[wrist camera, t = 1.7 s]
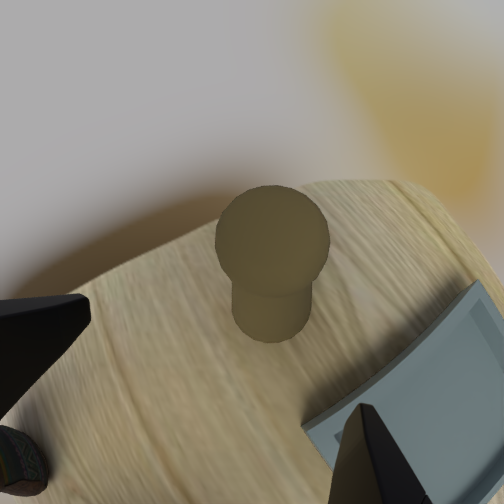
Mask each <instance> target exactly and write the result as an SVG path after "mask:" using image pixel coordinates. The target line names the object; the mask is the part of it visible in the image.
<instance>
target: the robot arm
mask: <svg viewBox="0 0 504 504" xmlns="http://www.w3.org/2000/svg"><path fill="white" fill-rule="evenodd" d="M90 321H91V312H90V302H89V299H88V298H87V297H85V296H84V295H82V294H79V293H78V294H67V295H57V296H46V297H34V298H21V299H9V300H0V420H1V419H2V418H3V417H4V416H5V415H6V413H7V412H8V411H9V410H10V409H11V408H12V407H13V406H14V405H15V404H16V402H17V401H18V400H19V399H20V398H21V397H22V396H23V395H24V394H25V393H26V392H27V391H28V390H29V389H30V387H31V386H32V385H33V384H34V383H35V382H36V381H37V380H38V379H39V378H40V377H41V376H42V375H43V374H44V373H45V372H46V371H47V370H48V369H49V368H50V367H51V366H52V365H53V364H54V363H55V362H56V361H57V360H58V359H59V358H60V357H61V356H62V355H63V354H64V353H65V352H66V351H67V350H68V348H69V347H70V346H71V345H72V344H73V342H74V341H75V340H76V339H77V338H78V336H79V335H80V334H81V333H82V332H83V331H84V329H85V328H86V327H87V326H88V325H89V323H90ZM328 504H433V503H432V501H431V500H430V498H429V496H428V495H427V494H426V491H425V490H424V488H423V486H422V484H421V483H420V481H419V479H418V478H417V476H416V474H415V473H414V471H413V469H412V468H411V466H410V464H409V463H408V461H407V459H406V458H405V456H404V454H403V453H402V451H401V449H400V448H399V446H398V445H397V443H396V441H395V440H394V438H393V436H392V435H391V433H390V432H389V430H388V428H387V427H386V425H385V423H384V422H383V420H382V419H381V417H380V415H379V414H378V412H377V411H376V409H375V407H374V406H373V405H371V404H366V403H359V404H358V405H357V406H356V407H355V409H354V410H353V412H352V413H351V415H350V416H349V417H348V419H347V420H346V423H345V425H344V429H343V434H342V438H341V442H340V447H339V451H338V455H337V458H336V462H335V466H334V471H333V476H332V483H331V489H330V495H329V501H328Z"/></svg>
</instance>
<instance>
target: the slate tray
mask: <svg viewBox="0 0 504 504" xmlns="http://www.w3.org/2000/svg"><path fill="white" fill-rule="evenodd" d="M359 403H366V404H371V405H373V406H374V407H375V409H376V411H377V412H378V414H379V415H380V417H381V419H382V420H383V422H384V423H385V425H386V427H387V428H388V430H389V432H390V433H391V435H392V436H393V438H394V440H395V441H396V443H397V445H398V446H399V448H400V449H401V451H402V453H403V454H404V456H405V458H406V459H407V461H408V463H409V464H410V466H411V468H412V469H413V471H414V473H415V474H416V476H417V478H418V479H419V481H420V483H421V484H422V486H423V488H424V490H425V491H426V494H427V495H428V496H429V498H430V500H431V501H432V503H433V504H487V503H488V502H489V501H490V500H491V498H492V497H493V496H494V495H495V494H496V493H497V491H498V490H499V489H500V488H501V487H502V485H503V484H504V319H503V318H502V316H501V314H500V312H499V311H498V309H497V307H496V306H495V304H494V303H493V301H492V299H491V298H490V296H489V295H488V293H487V292H486V290H485V289H484V287H483V286H482V284H481V283H480V281H479V280H478V279H477V280H476V281H475V282H473V283H472V284H471V285H469V286H468V287H467V288H465V289H464V290H463V291H461V292H460V293H459V294H458V295H457V297H456V298H455V299H454V300H453V301H452V302H451V303H450V304H449V306H448V307H447V308H446V309H445V310H444V311H443V312H442V313H441V314H440V315H439V316H438V317H437V318H436V319H435V320H434V322H433V323H432V324H431V325H430V326H429V327H428V328H427V329H426V330H425V331H424V332H423V333H422V334H420V335H419V336H418V337H417V338H416V339H415V340H414V341H413V342H412V343H411V344H410V345H409V346H408V347H407V348H406V349H404V350H403V351H402V352H401V353H400V354H399V355H398V356H397V357H395V358H394V359H393V360H392V361H391V362H390V363H388V364H387V365H386V366H385V367H384V368H383V369H381V370H380V371H379V372H378V373H376V374H375V375H374V376H373V377H371V378H370V379H369V380H368V381H366V382H365V383H364V384H362V385H361V386H360V387H358V388H357V389H356V390H354V391H353V392H352V393H350V394H349V395H347V396H346V397H345V398H343V399H342V400H340V401H339V402H338V403H336V404H335V405H333V406H332V407H330V408H329V409H327V410H326V411H324V412H323V413H321V414H319V415H318V416H316V417H315V418H313V419H312V420H310V421H308V422H307V423H305V424H303V425H302V426H301V427H302V429H303V430H304V432H305V433H306V435H307V436H308V438H309V439H310V441H311V442H312V444H313V445H314V447H315V448H316V449H317V451H318V452H319V454H320V455H321V457H322V458H323V459H324V461H325V462H326V464H327V465H328V466H329V468H330V469H331V471H332V472H333V471H334V466H335V462H336V458H337V455H338V451H339V447H340V442H341V438H342V434H343V429H344V425H345V423H346V420H347V419H348V417H349V416H350V415H351V413H352V412H353V410H354V409H355V407H356V406H357V405H358V404H359Z"/></svg>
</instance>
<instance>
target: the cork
mask: <svg viewBox="0 0 504 504" xmlns="http://www.w3.org/2000/svg"><path fill="white" fill-rule="evenodd" d="M329 247H330V236H329V230H328V225H327V221H326V219H325V217H324V216H323V214H322V212H321V211H320V209H319V208H318V206H317V205H316V204H315V203H314V202H313V201H311V200H310V199H309V198H308V197H307V196H306V195H304V194H302V193H300V192H298V191H296V190H294V189H292V188H288V187H283V186H278V185H275V186H261V187H257V188H254V189H250V190H248V191H246V192H244V193H243V194H241V195H239V196H238V197H236V198H235V199H234V200H233V201H232V202H231V203H230V204H229V206H228V207H227V208H226V209H225V210H224V211H223V212H222V215H221V217H220V219H219V221H218V224H217V227H216V237H215V249H216V253H217V256H218V259H219V262H220V265H221V267H222V269H223V271H224V272H225V273H226V274H227V276H228V277H229V278H230V279H231V281H232V313H233V316H234V319H235V322H236V324H237V325H238V326H239V328H240V329H241V330H242V332H243V333H245V334H246V335H248V336H249V337H251V338H252V339H254V340H257V341H261V342H265V343H278V342H282V341H285V340H287V339H290V338H292V337H293V336H295V335H296V334H297V333H298V332H300V331H301V330H302V329H303V327H304V325H305V324H306V322H307V321H308V319H309V315H310V310H311V298H312V281H313V280H315V279H316V278H317V276H318V275H319V273H320V271H321V270H322V268H323V267H324V265H325V263H326V260H327V257H328V252H329Z"/></svg>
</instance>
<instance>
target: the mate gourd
mask: <svg viewBox="0 0 504 504" xmlns="http://www.w3.org/2000/svg"><path fill="white" fill-rule="evenodd" d="M47 485H48V468H47V464H46V461H45V458H44V456H43V454H42V452H41V451H40V449H39V448H38V446H37V445H36V444H35V442H34V441H33V440H32V439H31V438H30V437H29V436H28V435H26V434H25V433H23V432H20V431H18V430H16V429H14V428H10V427H8V426H4V425H0V492H4V493H8V494H11V495H15V496H24V497H28V496H36V495H38V494H40V493H41V492H42V491H44V490H45V489H46V488H47Z"/></svg>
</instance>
